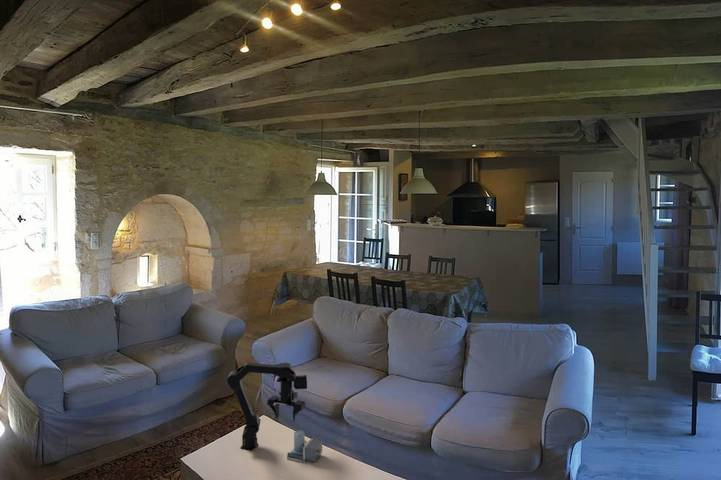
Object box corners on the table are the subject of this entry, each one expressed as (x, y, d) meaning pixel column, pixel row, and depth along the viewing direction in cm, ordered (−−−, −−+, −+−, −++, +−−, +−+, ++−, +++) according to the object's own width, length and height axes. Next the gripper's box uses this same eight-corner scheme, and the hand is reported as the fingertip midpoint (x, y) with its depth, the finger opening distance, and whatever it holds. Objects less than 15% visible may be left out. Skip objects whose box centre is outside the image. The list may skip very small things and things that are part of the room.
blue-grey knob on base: (290, 454, 232) (290, 434, 231) (296, 448, 238) (296, 428, 237) (303, 457, 230) (303, 437, 229) (308, 451, 236) (308, 431, 235)
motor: (286, 459, 230) (286, 444, 230) (297, 447, 241) (297, 434, 240) (316, 465, 225) (316, 451, 225) (325, 453, 236) (325, 439, 235)
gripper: (310, 386, 245) (310, 415, 246) (277, 380, 251) (277, 409, 253) (300, 394, 234) (300, 425, 236) (266, 388, 240) (266, 419, 242)
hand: (286, 419), depth 242 cm, fingers open, 9 cm apart
